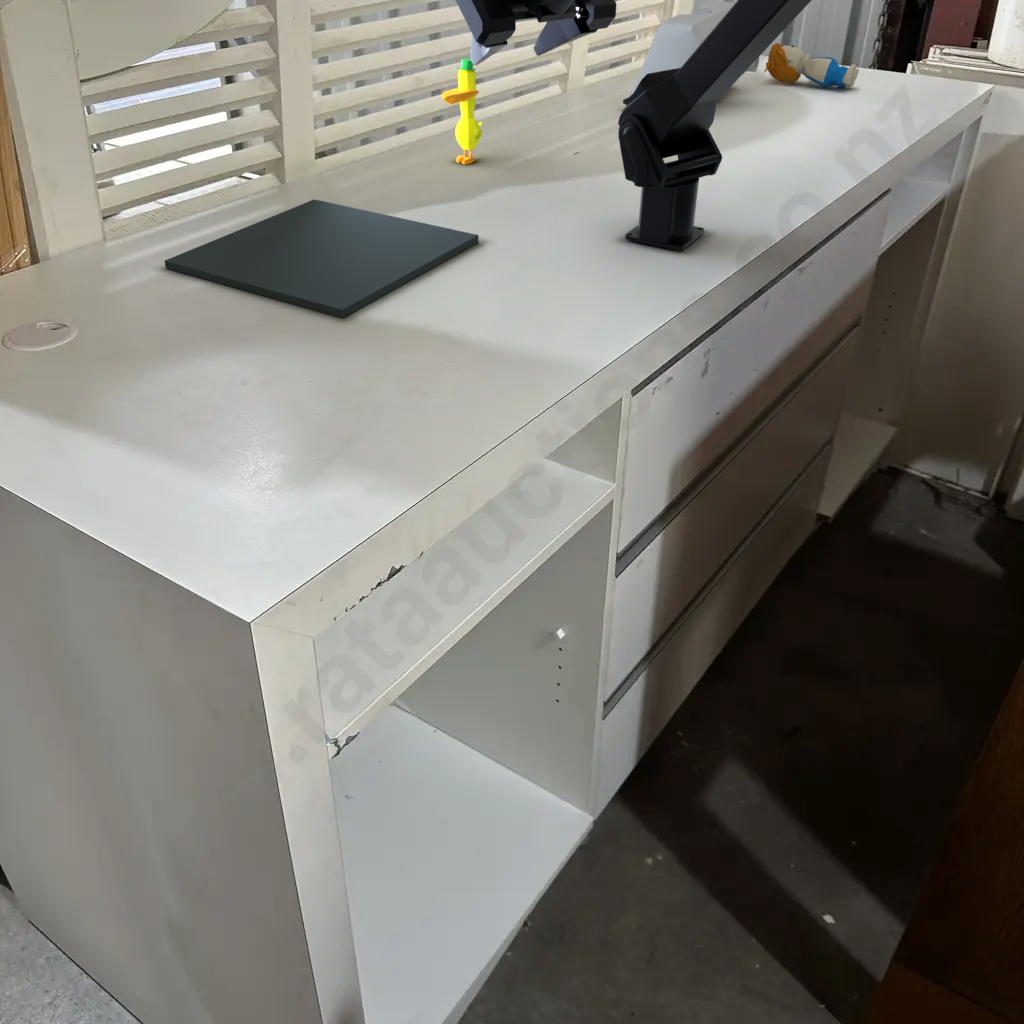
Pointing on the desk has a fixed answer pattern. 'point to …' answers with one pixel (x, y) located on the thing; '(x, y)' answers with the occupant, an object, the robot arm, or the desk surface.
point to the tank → (683, 39)
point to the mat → (324, 256)
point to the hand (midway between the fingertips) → (505, 56)
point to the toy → (808, 68)
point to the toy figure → (465, 110)
